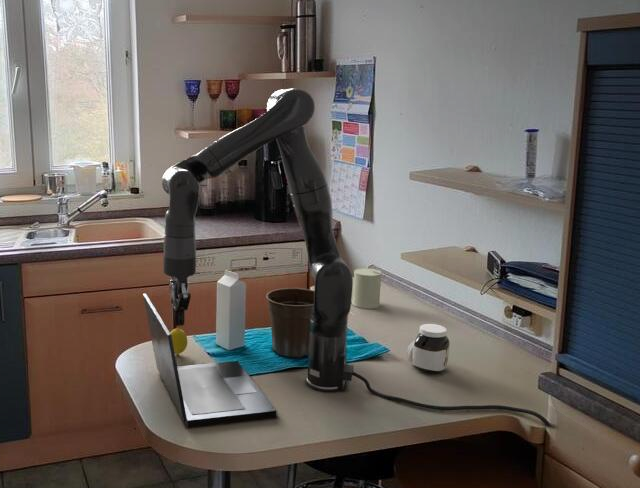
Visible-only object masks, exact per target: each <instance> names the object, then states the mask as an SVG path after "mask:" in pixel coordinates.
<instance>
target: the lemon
mask: <svg viewBox="0 0 640 488" xmlns="http://www.w3.org/2000/svg"><path fill="white" fill-rule="evenodd" d="M169 332H170V333H171V336H172V341H173V347H174V352H175V356H179V355H180V354H182V353H183V352H185V350H186V349H187V346H188V336H187V333H186V332H185V331H184V330H183V329H182V328H179V327H176V328H173V329H172V330H171V331H169Z"/></svg>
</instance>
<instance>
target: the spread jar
mask: <svg viewBox="0 0 640 488" xmlns="http://www.w3.org/2000/svg"><path fill="white" fill-rule="evenodd" d="M447 331H448V330H447V327H445V326H443V325H440V324H435V323H424V324H421V325H419V333H418V334H417V336H416V338H415V339H414V340H412V341H411V343H410V344H409V345H408V347H407V348H406V355H407V356H408V357H409V358H410V359H411V360H412V365H413V367H414V368H415V369H416V370H417V371H418V372H421V373H423V374H426V375H440V374H442V373H444V371H445V369H446V368H447V366H448V363H449V355H450V339H449V337H448V336H447Z"/></svg>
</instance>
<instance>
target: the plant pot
mask: <svg viewBox="0 0 640 488" xmlns="http://www.w3.org/2000/svg"><path fill="white" fill-rule="evenodd" d="M265 299H266V300H267V306H268V311H269V317H270V318H269V319H270V331H271V343H272V352H276V354H277V355H279V356H282V357H285V358H302V357H303V356H306V357H308V356H309V334H310V313H311V308H312V307H313V304H314V289H313V290H312V289H308V288H302V287H301V288H300V287H285V288H283V287H282V288H277V289H274V290H271V291H269V292H267V293H266V295H265Z"/></svg>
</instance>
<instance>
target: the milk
mask: <svg viewBox="0 0 640 488" xmlns="http://www.w3.org/2000/svg"><path fill="white" fill-rule="evenodd" d="M239 277H240V276H239V273H236V272H234V271H230V270H228V269H225V270H224V275H223V276H222V277H221V278H219V279H218V280H217V282H216V310H215V311H216V313H215V314H216V316H215V317H216V318H215V319H216V320H215V321H216V323H215V345H217V346H218V347H221V348H223V349H225V350H227V351H231V350H235V349H239V348H242V347H245V344H246V309H247V307H246V304H247V283H246V282H244V281H243V280H241V279H239Z"/></svg>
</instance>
